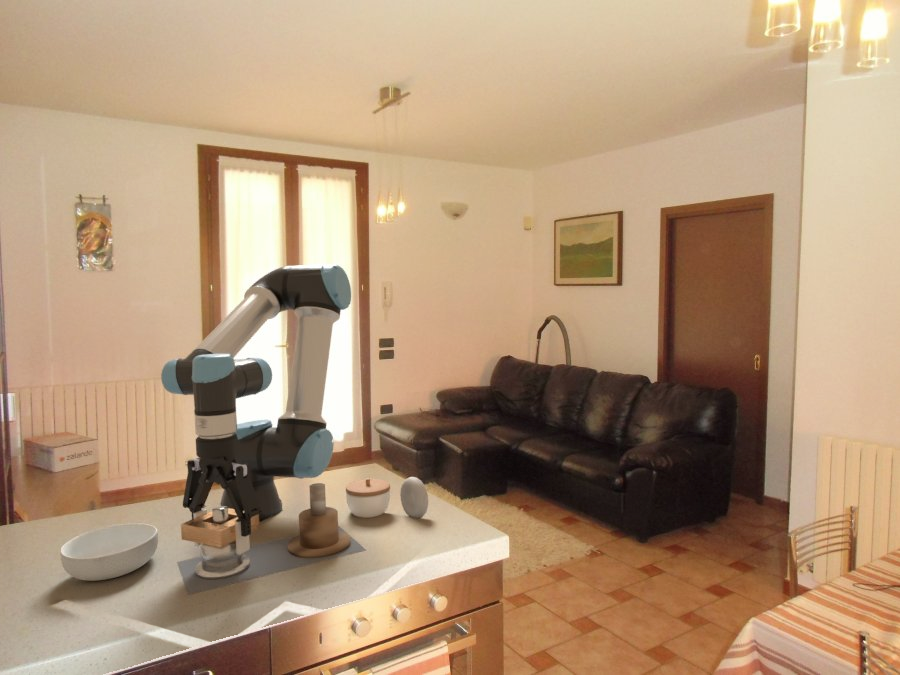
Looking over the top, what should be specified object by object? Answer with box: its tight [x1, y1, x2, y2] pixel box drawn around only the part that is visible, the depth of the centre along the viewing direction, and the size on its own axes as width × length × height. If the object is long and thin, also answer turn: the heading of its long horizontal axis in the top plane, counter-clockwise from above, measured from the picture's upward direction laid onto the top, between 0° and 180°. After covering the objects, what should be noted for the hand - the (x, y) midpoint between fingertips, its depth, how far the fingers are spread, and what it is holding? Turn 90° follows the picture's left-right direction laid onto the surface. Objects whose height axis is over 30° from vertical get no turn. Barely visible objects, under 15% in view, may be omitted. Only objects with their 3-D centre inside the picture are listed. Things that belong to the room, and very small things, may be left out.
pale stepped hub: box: [195, 505, 250, 580], centre depth 117 cm, size 10×10×12 cm
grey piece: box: [399, 476, 429, 519], centre depth 145 cm, size 10×4×10 cm, turn 34°
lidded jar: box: [345, 477, 391, 519], centre depth 146 cm, size 11×11×9 cm
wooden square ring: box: [180, 508, 261, 547], centre depth 117 cm, size 10×10×3 cm
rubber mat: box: [176, 525, 367, 595], centre depth 122 cm, size 34×16×1 cm, turn 121°
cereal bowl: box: [59, 522, 159, 582], centre depth 119 cm, size 17×17×7 cm
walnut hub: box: [288, 482, 351, 558], centre depth 127 cm, size 13×13×13 cm
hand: (222, 547), depth 117 cm, fingers closed on wooden square ring, 10 cm apart
